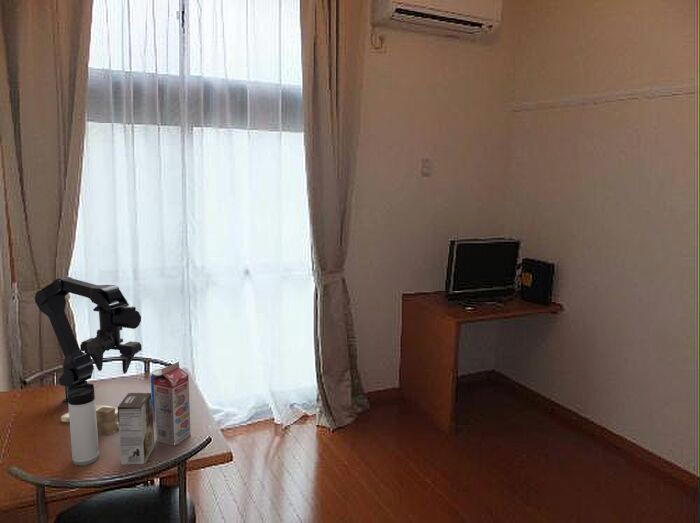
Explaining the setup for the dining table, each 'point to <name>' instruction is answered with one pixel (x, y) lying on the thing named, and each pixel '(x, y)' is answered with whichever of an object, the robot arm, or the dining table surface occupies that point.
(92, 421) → the travel mug
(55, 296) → the robot arm
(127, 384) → the dining table surface
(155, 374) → the beverage can
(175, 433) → the milk carton
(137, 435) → the coffee box
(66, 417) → the board
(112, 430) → the block
